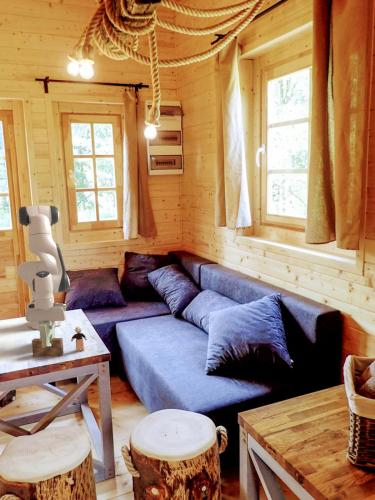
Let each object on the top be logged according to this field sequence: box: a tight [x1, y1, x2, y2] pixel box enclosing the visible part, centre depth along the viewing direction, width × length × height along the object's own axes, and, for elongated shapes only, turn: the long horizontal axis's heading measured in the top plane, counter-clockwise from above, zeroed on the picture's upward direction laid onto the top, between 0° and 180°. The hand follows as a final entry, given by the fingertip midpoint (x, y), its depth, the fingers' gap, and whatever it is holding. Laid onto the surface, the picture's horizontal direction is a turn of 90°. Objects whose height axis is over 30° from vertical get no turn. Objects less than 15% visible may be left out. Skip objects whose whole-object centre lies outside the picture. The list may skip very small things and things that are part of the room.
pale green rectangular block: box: [39, 321, 56, 346], centre depth 222 cm, size 14×3×12 cm, turn 0°
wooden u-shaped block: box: [31, 337, 65, 357], centre depth 209 cm, size 14×3×8 cm, turn 91°
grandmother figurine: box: [70, 325, 88, 353], centre depth 213 cm, size 8×4×13 cm, turn 117°
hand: (47, 328), depth 221 cm, fingers closed on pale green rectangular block, 3 cm apart
